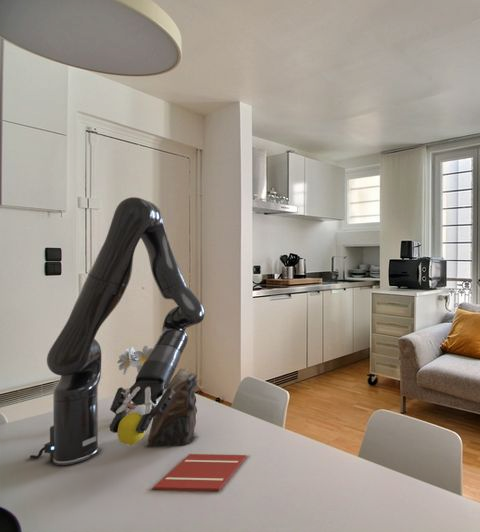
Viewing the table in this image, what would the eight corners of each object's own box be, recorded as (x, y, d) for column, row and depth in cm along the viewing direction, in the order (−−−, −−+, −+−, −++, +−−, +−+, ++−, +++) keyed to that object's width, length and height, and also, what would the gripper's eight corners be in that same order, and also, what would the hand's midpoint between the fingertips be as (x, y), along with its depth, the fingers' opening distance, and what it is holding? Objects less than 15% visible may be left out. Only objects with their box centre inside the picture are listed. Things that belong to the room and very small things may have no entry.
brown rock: (176, 427, 121) (176, 366, 120) (211, 430, 119) (212, 368, 118) (144, 446, 108) (144, 379, 108) (183, 450, 106) (183, 381, 106)
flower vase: (143, 406, 137) (142, 339, 136) (177, 415, 130) (177, 344, 129) (103, 420, 125) (103, 347, 124) (138, 430, 118) (138, 353, 117)
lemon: (131, 452, 85) (130, 418, 84) (111, 450, 86) (111, 416, 85) (152, 441, 90) (151, 408, 90) (133, 438, 91) (132, 406, 91)
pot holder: (153, 489, 88) (153, 486, 88) (189, 456, 103) (189, 453, 103) (219, 491, 88) (219, 488, 88) (246, 457, 103) (246, 454, 103)
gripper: (125, 358, 95) (86, 425, 83) (180, 359, 95) (148, 426, 83) (140, 372, 100) (105, 437, 89) (192, 373, 100) (164, 438, 89)
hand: (126, 431), depth 86 cm, fingers closed on lemon, 5 cm apart
